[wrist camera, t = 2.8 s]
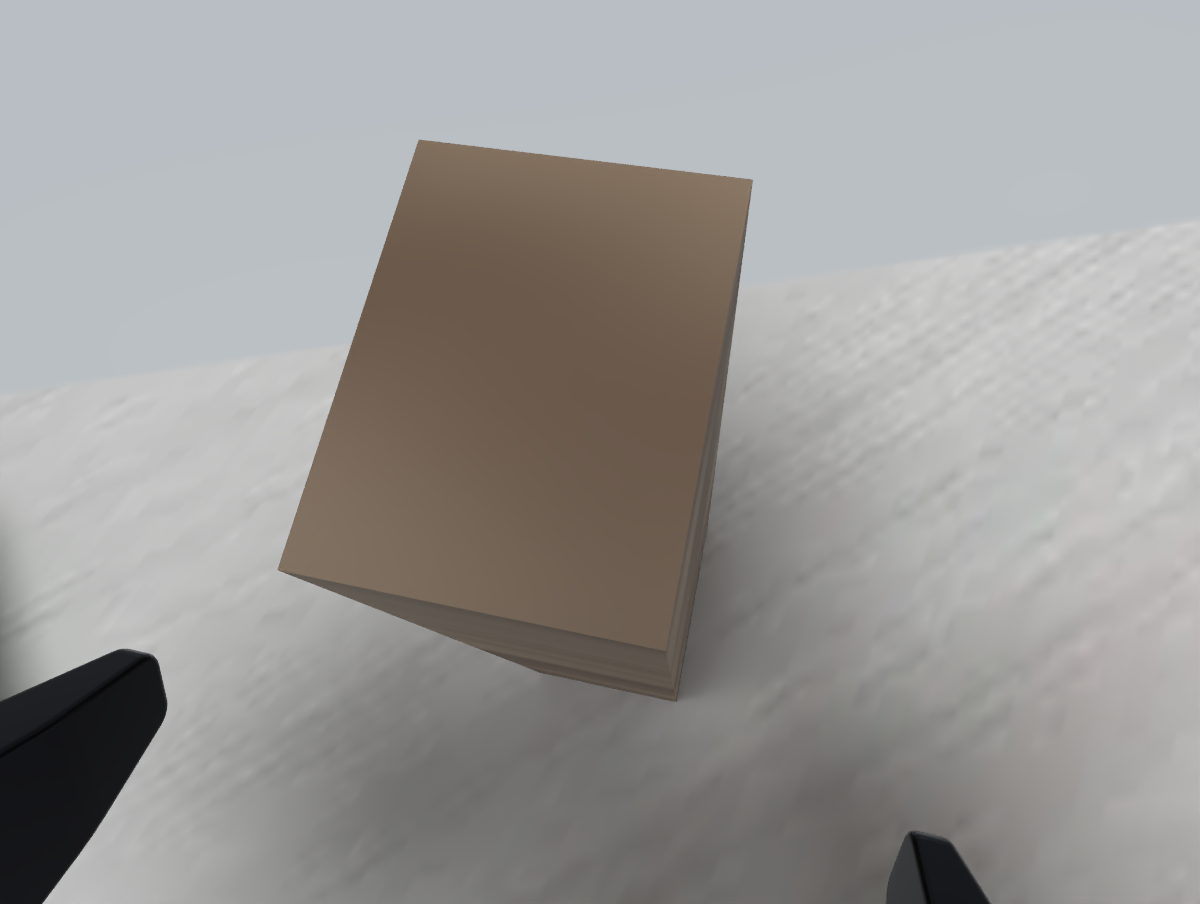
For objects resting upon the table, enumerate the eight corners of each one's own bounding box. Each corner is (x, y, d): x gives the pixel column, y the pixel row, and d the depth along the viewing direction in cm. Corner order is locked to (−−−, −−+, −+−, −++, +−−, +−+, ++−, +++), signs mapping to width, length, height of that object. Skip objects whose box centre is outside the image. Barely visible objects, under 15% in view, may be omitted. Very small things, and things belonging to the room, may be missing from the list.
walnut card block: (675, 701, 20) (666, 650, 7) (539, 672, 20) (278, 570, 7) (707, 522, 21) (753, 179, 8) (578, 497, 22) (418, 139, 8)
